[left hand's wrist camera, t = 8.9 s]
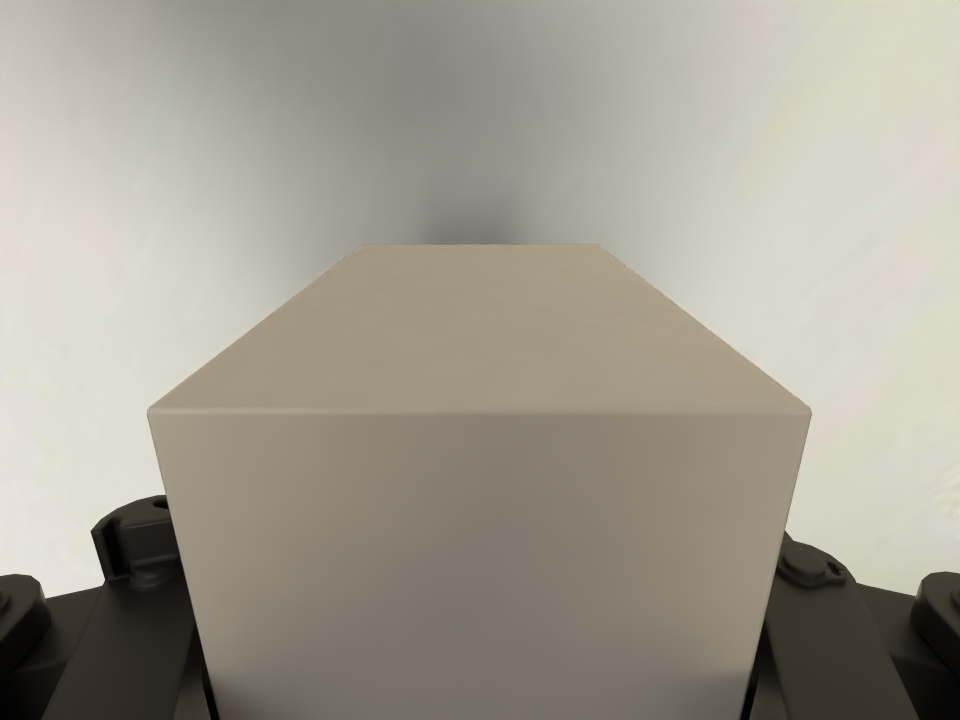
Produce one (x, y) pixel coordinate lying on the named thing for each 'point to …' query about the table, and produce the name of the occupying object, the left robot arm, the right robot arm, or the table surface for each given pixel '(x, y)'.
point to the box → (479, 495)
